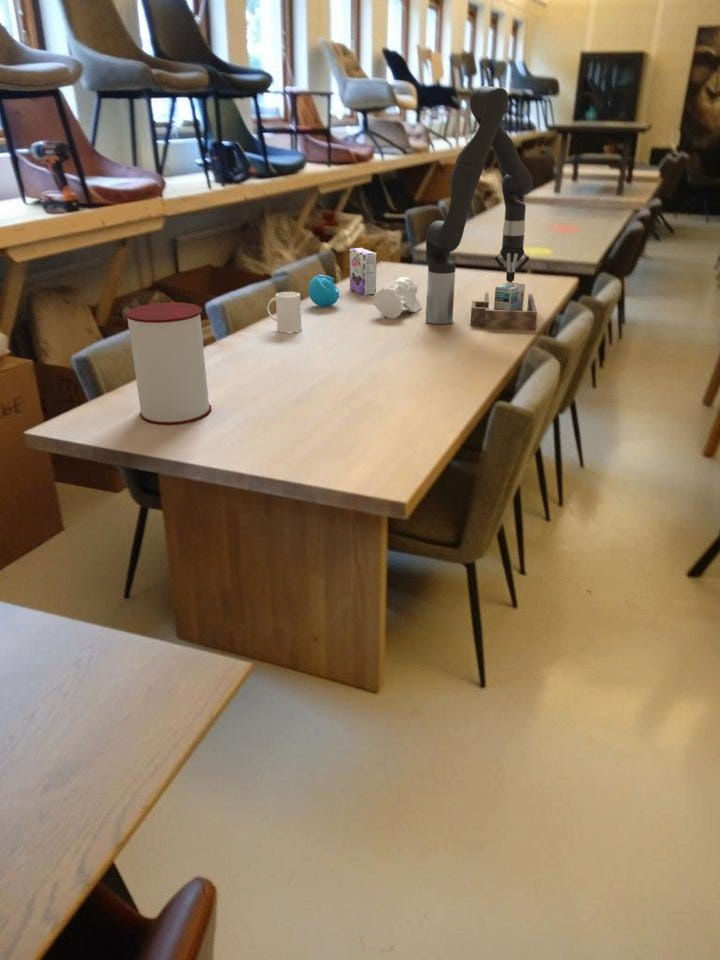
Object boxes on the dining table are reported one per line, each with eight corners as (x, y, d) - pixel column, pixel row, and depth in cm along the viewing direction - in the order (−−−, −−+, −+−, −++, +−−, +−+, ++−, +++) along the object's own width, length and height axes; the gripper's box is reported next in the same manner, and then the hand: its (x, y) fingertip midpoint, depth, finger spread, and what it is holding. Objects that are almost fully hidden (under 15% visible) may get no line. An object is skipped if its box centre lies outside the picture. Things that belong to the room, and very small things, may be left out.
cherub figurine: (367, 287, 263) (392, 271, 278) (369, 321, 270) (393, 303, 284) (400, 289, 257) (424, 273, 272) (402, 324, 264) (425, 306, 278)
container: (216, 399, 192) (207, 301, 181) (206, 424, 177) (195, 319, 165) (148, 400, 191) (135, 302, 180) (132, 425, 176) (116, 320, 165)
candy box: (349, 289, 307) (348, 248, 300) (362, 288, 309) (362, 247, 302) (363, 296, 296) (363, 253, 289) (376, 295, 298) (377, 252, 291)
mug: (263, 331, 250) (261, 295, 245) (275, 324, 257) (273, 289, 252) (295, 334, 246) (293, 298, 241) (306, 328, 254) (305, 292, 248)
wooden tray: (470, 327, 253) (471, 310, 251) (471, 308, 278) (472, 292, 275) (535, 330, 251) (537, 312, 248) (530, 310, 275) (532, 294, 272)
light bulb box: (509, 319, 263) (512, 288, 258) (492, 316, 267) (494, 286, 262) (523, 313, 271) (525, 283, 266) (506, 311, 274) (508, 281, 270)
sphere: (338, 310, 276) (338, 278, 270) (307, 310, 276) (306, 278, 271) (340, 302, 286) (339, 271, 281) (310, 302, 287) (309, 271, 281)
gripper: (494, 234, 264) (491, 284, 272) (533, 234, 262) (528, 284, 270) (494, 231, 271) (491, 279, 278) (531, 231, 269) (527, 280, 277)
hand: (510, 282), depth 274 cm, fingers closed
